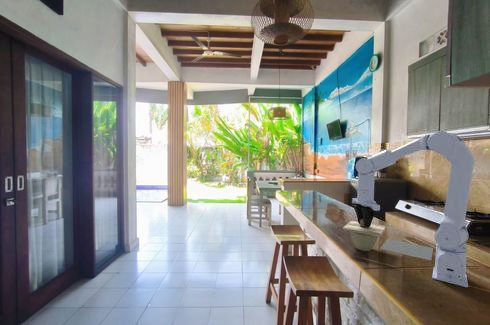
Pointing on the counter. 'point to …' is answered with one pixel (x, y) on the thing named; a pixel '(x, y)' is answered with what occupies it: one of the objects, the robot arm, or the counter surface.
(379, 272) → the counter surface
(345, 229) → the lid
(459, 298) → the counter surface
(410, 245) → the mat
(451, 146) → the robot arm
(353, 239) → the beige bowl
